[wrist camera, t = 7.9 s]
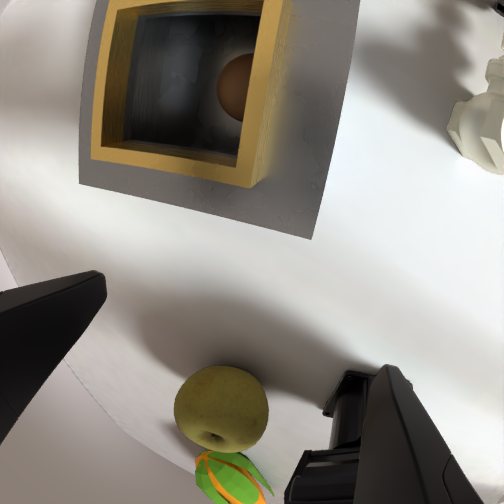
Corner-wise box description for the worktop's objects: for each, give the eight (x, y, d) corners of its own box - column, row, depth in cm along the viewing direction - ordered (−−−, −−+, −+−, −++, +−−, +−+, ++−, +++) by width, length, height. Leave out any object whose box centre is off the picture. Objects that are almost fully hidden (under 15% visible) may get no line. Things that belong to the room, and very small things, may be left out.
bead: (255, 121, 17) (301, 133, 14) (198, 117, 15) (238, 126, 12) (265, 61, 15) (314, 63, 13) (208, 49, 13) (252, 42, 10)
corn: (219, 490, 25) (276, 532, 31) (243, 439, 32) (290, 495, 38) (169, 476, 28) (235, 523, 35) (195, 432, 35) (251, 489, 41)
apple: (281, 406, 27) (263, 468, 21) (206, 397, 29) (179, 450, 23) (273, 351, 24) (248, 422, 18) (186, 344, 26) (148, 401, 20)
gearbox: (321, 196, 18) (307, 256, 11) (146, 159, 20) (59, 192, 13) (361, -19, 11) (369, -93, 4) (174, -27, 13) (97, -68, 6)
